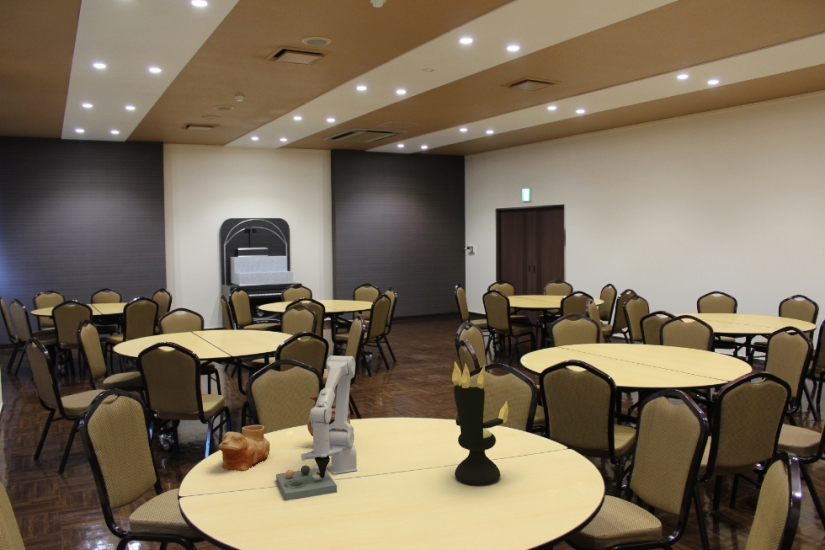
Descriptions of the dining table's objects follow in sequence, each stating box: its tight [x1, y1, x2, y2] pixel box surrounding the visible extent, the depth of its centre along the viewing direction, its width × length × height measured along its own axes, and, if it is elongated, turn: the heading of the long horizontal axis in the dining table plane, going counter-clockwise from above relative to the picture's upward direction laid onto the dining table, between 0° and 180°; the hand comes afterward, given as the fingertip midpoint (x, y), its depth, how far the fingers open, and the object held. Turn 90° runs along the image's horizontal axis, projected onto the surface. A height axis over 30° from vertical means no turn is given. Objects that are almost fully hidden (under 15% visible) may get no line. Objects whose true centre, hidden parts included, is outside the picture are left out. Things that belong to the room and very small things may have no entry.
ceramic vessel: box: [218, 424, 271, 472], centre depth 262 cm, size 14×26×15 cm, turn 158°
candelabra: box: [451, 361, 509, 486], centre depth 237 cm, size 19×22×45 cm
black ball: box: [300, 464, 311, 475], centre depth 241 cm, size 3×3×3 cm
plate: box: [275, 467, 338, 501], centre depth 236 cm, size 18×20×2 cm
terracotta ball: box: [285, 469, 294, 478], centre depth 238 cm, size 3×3×3 cm
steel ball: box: [312, 472, 321, 481], centre depth 235 cm, size 3×3×3 cm
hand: (322, 476), depth 235 cm, fingers closed, pressing on steel ball
